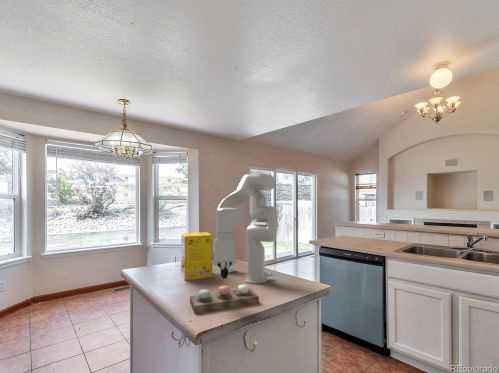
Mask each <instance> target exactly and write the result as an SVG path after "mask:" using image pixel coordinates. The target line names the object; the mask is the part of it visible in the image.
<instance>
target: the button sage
mask: <svg viewBox="0 0 499 373" xmlns="http://www.w3.org/2000/svg"><path fill="white" fill-rule="evenodd" d="M197 293H198V294H197V295H198V298H199V299H207V298H209V297H210V290H209V289H204V288H203V289H201V290H198V292H197Z"/></svg>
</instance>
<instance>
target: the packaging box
mask: <svg viewBox="0 0 499 373" xmlns="http://www.w3.org/2000/svg"><path fill="white" fill-rule="evenodd" d="M180 235H181V238H180V240H181V242H180V243H181V244H180V245H181V246H180V251H181V252H180V254H181V255H180V275H181V276H182V279H183V281H191V280H202V279H209V278H213V264H212V263H213V259H212V252H213V235H212V234H211V233H209V232H207V231H206V232H204V231H203V232H187V233H186V232H185V233H183V232H182V233H181V234H180Z"/></svg>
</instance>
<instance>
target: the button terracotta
mask: <svg viewBox="0 0 499 373" xmlns="http://www.w3.org/2000/svg"><path fill="white" fill-rule="evenodd" d="M230 288H231V287H230V286H229V285H220V286H218V292H219V294H221V295H226V294H229V293H230V291H231V290H230Z"/></svg>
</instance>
